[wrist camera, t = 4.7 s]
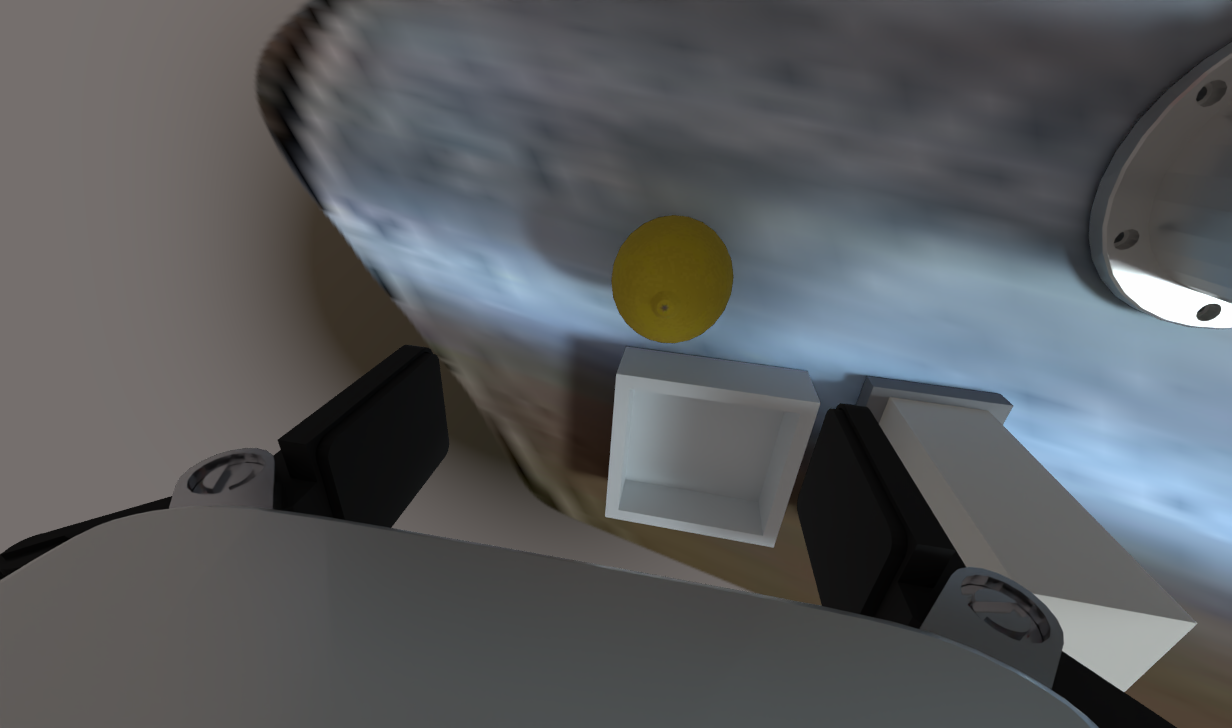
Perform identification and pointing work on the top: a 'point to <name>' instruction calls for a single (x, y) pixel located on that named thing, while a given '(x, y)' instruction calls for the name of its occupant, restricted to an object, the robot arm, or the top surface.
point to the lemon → (672, 279)
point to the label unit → (1026, 525)
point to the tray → (707, 443)
